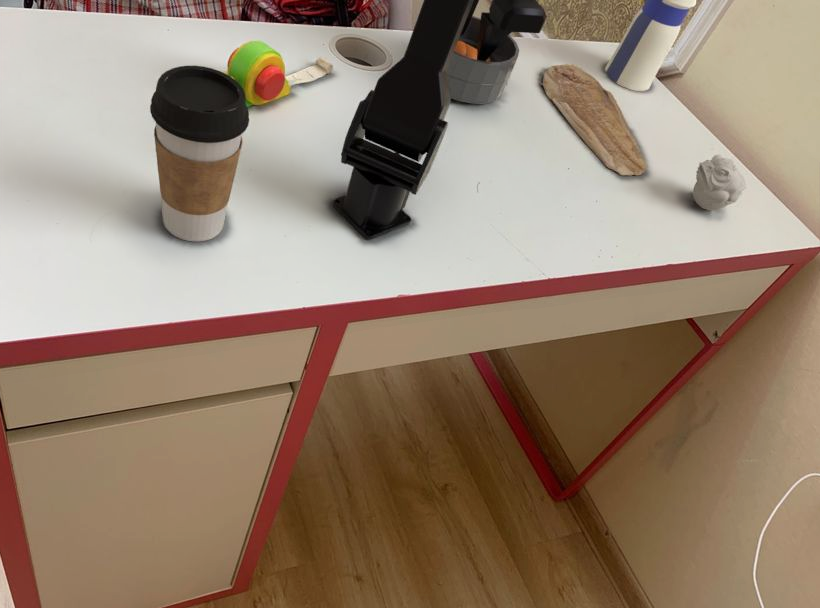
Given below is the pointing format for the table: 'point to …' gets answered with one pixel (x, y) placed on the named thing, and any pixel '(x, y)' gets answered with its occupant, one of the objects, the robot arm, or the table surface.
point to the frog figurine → (717, 183)
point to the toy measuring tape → (268, 72)
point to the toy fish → (467, 50)
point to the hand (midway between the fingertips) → (469, 48)
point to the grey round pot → (481, 69)
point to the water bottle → (647, 43)
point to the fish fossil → (594, 117)
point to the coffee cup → (197, 147)
